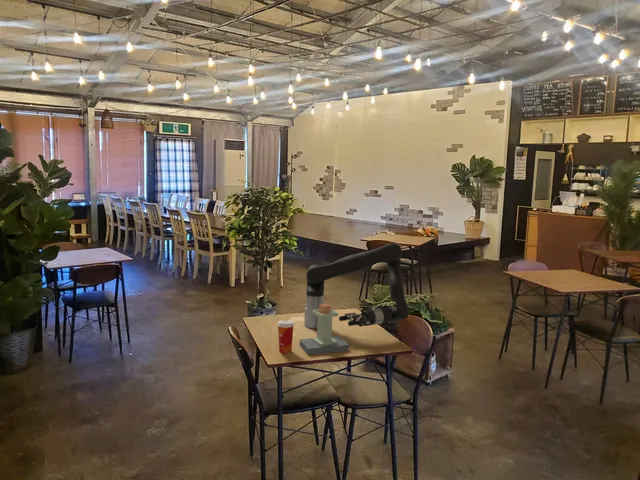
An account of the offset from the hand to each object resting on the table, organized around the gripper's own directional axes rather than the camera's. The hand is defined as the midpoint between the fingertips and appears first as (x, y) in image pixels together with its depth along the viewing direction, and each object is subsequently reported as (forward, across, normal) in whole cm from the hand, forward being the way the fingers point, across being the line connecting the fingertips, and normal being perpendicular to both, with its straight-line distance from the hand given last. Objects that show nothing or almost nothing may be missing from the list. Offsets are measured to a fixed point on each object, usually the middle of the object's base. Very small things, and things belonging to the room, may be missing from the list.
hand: (343, 321), depth 241 cm
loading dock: (+11, 0, +12) cm, 16 cm away
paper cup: (+29, -4, +12) cm, 31 cm away
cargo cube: (+10, 0, -5) cm, 12 cm away
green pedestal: (+10, 0, +9) cm, 14 cm away
